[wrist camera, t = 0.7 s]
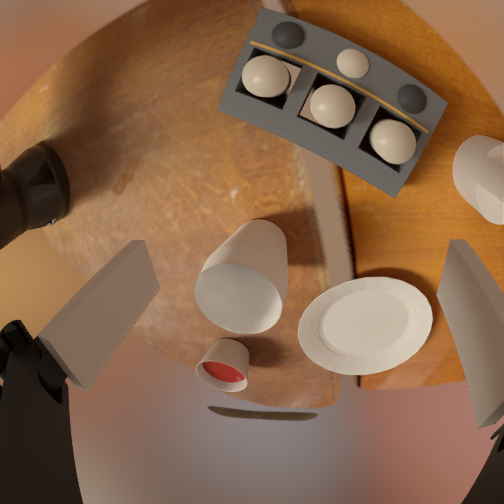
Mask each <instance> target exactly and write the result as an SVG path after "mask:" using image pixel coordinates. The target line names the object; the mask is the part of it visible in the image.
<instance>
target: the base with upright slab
mask: <svg viewBox="0 0 504 504" xmlns="http://www.w3.org/2000/svg"><path fill="white" fill-rule="evenodd" d="M453 178H454V184H455V186H456V188H457V191H458V192H459V194H460V195H461V196H462V198H464V199H465V200H466V201H467V202H468V203H469V204H470V205H471V206H473V207H474V208H475V209H476V210H477V211H478V212H479V213H480V214H481V215H482V216H483V217H484V218H486V219H487V220H488V221H489V222H491V223H494V224H497V225H498V224H504V142H502V141H499V140H496V139H493V138H491V137H488V136H485V135H475V136H471V137H469V138H468V139H466V140H465V141H464V142H463V143H462V144H461V145H460V147H459V148H458V150H457V152H456V155H455V158H454V162H453Z"/></svg>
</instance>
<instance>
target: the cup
mask: <svg viewBox="0 0 504 504" xmlns="http://www.w3.org/2000/svg"><path fill="white" fill-rule="evenodd" d="M287 292H288V264H287V241H286V237H285V235H284V233H283V232H282V230H281V229H280V228H279V227H278V226H277V225H275V224H274V223H272V222H270V221H267V220H262V219H256V220H251V221H248V222H246V223H245V224H243V225H242V226H241V227H240V228H239V229H238V230H237V231H236V232H235V233H234V234H232V235H231V236H230V237H229V238H228V239H227V240H226V241H225V242H224V243H223V244H222V245H221V246H220V247H219V248H218V249H217V250H215V251H214V252H213V253H212V254H211V256H210V257H209V258H208V259H207V261H206V262H205V264H204V266H203V269H202V270H201V272H200V274H199V276H198V278H197V280H196V282H195V285H194V297H195V300H196V303H197V305H198V307H199V309H200V310H201V312H202V313H203V314H204V315H205V316H206V317H207V318H208V319H209V320H210V321H211V322H213V323H214V324H215V325H217V326H219V327H221V328H223V329H225V330H228V331H231V332H234V333H239V334H255V333H260V332H263V331H265V330H267V329H269V328H271V327H272V326H273V325H274V324H275V323H276V322H277V321H278V319H279V317H280V315H281V312H282V308H283V305H284V302H285V299H286V296H287Z"/></svg>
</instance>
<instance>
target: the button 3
mask: <svg viewBox="0 0 504 504" xmlns="http://www.w3.org/2000/svg"><path fill="white" fill-rule="evenodd" d="M368 139H369V143H370V145H371V147H372V148H373V149H374V151H376V152H377V153H378V154H379V155H380V156H381V157H382V158H383V159H384V160H385V161H387V162H389V163H392V164H402V163H404V162H406V161H408V160H409V159H410V158H411V157H412V156H413V154H414V152H415V148H416V140H415V136H414V134H413V132H412V130H411V129H410V128H409V127H408V126H407V125H405V124H404V123H401V122H398V121H395V120H391V119H386V118H384V119H379V120H377V121H376V122H374V123H373V124H372V125H371V127H370V129H369V133H368Z"/></svg>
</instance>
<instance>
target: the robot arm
mask: <svg viewBox="0 0 504 504" xmlns="http://www.w3.org/2000/svg"><path fill="white" fill-rule="evenodd" d="M68 205H69V186H68V180H67V176H66V173H65V170H64V167H63V165H62V163H61V161H60V159H59V158H58V156H57V155H56V154H55V152H54V151H53V150H52V149H50V148H49V147H47V146H45V145H36V146H33V147H31V148H28V149H27V150H25V151H24V152H23V153H22V154H21V155H20V156H18V157H17V158H16V159H15V160H14V161H13V162H12V163H11V164H10V165H9V166H8V167H7V168H5V169H4V170H2V171H1V167H0V250H1V249H2V248H4V247H5V246H6V245H8V244H9V243H10V242H11V241H13V240H14V239H16V238H17V237H18V236H19V235H21V234H23V233H24V232H25V231H27V230H31V229H36V228H40V227H44V226H49V225H52V224H54V223H56V222H57V221H59V220H60V219H61V218H63V217H64V215H65V214H66V212H67V209H68ZM159 290H160V286H159V283H158V280H157V277H156V274H155V271H154V268H153V265H152V262H151V259H150V256H149V253H148V250H147V247H146V244H145V241H144V240H132V241H131V242H130V243H128V244H127V245H126V246H125V247H124V248H123V249H122V250H121V251H120V252H119V253H118V254H116V255H115V256H114V257H113V258H112V259H111V260H110V261H109V262H108V263H107V264H106V265H105V266H104V267H103V268H102V269H101V270H99V271H98V272H97V273H96V274H95V275H94V276H93V277H92V278H91V279H90V280H89V281H88V282H87V283H86V284H85V285H84V286H83V287H82V288H81V289H80V290H79V291H78V292H77V293H76V294H75V295H74V296H73V297H72V298H71V299H70V301H69V302H68V303H67V304H66V305H65V306H64V307H63V308H62V309H61V310H60V311H59V312H58V313H57V314H56V316H55V317H54V318H53V319H52V320H51V321H50V322H49V323H48V324H47V325H46V326H45V327H44V329H43V330H42V331H41V332H40V333H39V334H38V336H37V337H36V338H35V339H34V340H33V338H32V337H31V335H30V334H29V332H28V331H27V329H26V327H25V326H24V324H23V323H22V321H21V320H14V321H12V322H10V323H8V324H7V325H6V326H5V327H4V328H3V329H2V330H1V331H0V377H1V378H2V379H3V381H4V382H3V387H2V386H1V385H0V504H83V502H82V497H81V493H80V488H79V483H78V478H77V473H76V467H75V460H74V454H73V446H72V438H71V427H70V415H69V395H68V394H69V393H68V385H67V384H66V382H65V379H66V378H67V377H69V379H70V380H71V381H72V383H73V384H74V385H75V386H76V387H79V388H81V389H83V390H85V391H87V392H88V391H89V390H90V388H91V387H92V385H93V384H94V382H95V381H96V379H97V377H98V376H99V375H100V373H101V372H102V370H103V369H104V367H105V366H106V364H107V363H108V361H109V360H110V358H111V357H112V356H113V354H114V353H115V351H116V350H117V348H118V347H119V345H120V344H121V342H122V341H123V340H124V338H125V337H126V335H127V334H128V333H129V331H130V330H131V328H132V327H133V326H134V324H135V323H136V321H137V320H138V319H139V317H140V316H141V315H142V313H143V312H144V310H145V309H146V308H147V306H148V305H149V304H150V302H151V301H152V300H153V298H154V297H155V296H156V294H157V293H158V292H159ZM437 298H438V300H439V302H440V305H441V307H442V310H443V312H444V315H445V317H446V320H447V323H448V325H449V328H450V331H451V333H452V336H453V339H454V342H455V345H456V348H457V351H458V354H459V357H460V360H461V363H462V367H463V370H464V373H465V377H466V380H467V384H468V388H469V392H470V396H471V400H472V404H473V409H474V413H475V417H476V423H477V428H482V427H485V426H488V425H492V424H495V423H496V422H497V421H498V420H499V419H500V418H501V417H502V416H503V415H504V294H503V292H502V290H501V289H500V287H499V286H498V284H497V283H496V281H495V280H494V278H493V277H492V275H491V274H490V272H489V271H488V270H487V268H486V267H485V265H484V264H483V263H482V261H481V260H480V258H479V257H478V256H477V254H476V253H475V252H474V250H473V249H472V248H471V247H470V245H469V244H468V243H467V241H466V240H453V239H450V243H449V247H448V252H447V257H446V261H445V265H444V269H443V273H442V277H441V281H440V284H439V288H438V291H437ZM498 434H499V435H498ZM497 435H498V438H497V440H496V441H495V444H494V447H493V449H492V451H491V453H490V455H489V457H488V459H487V461H486V463H485V465H484V467H483V469H482V470H481V472H480V474H479V476H478V477H477V479H476V481H475V483H474V484H473V486H472V488H471V489H470V491H469V493H468V494H467V496H466V497H465V499H464V500H463V502H462V503H461V504H504V424H503V425H502V426H501V427H500V428H499V429H498V430H497V431H496V432H495V433H494V434H493V435H492V437H491V438H490V439H492V440H493V439H494V438H495V437H496V436H497Z"/></svg>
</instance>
